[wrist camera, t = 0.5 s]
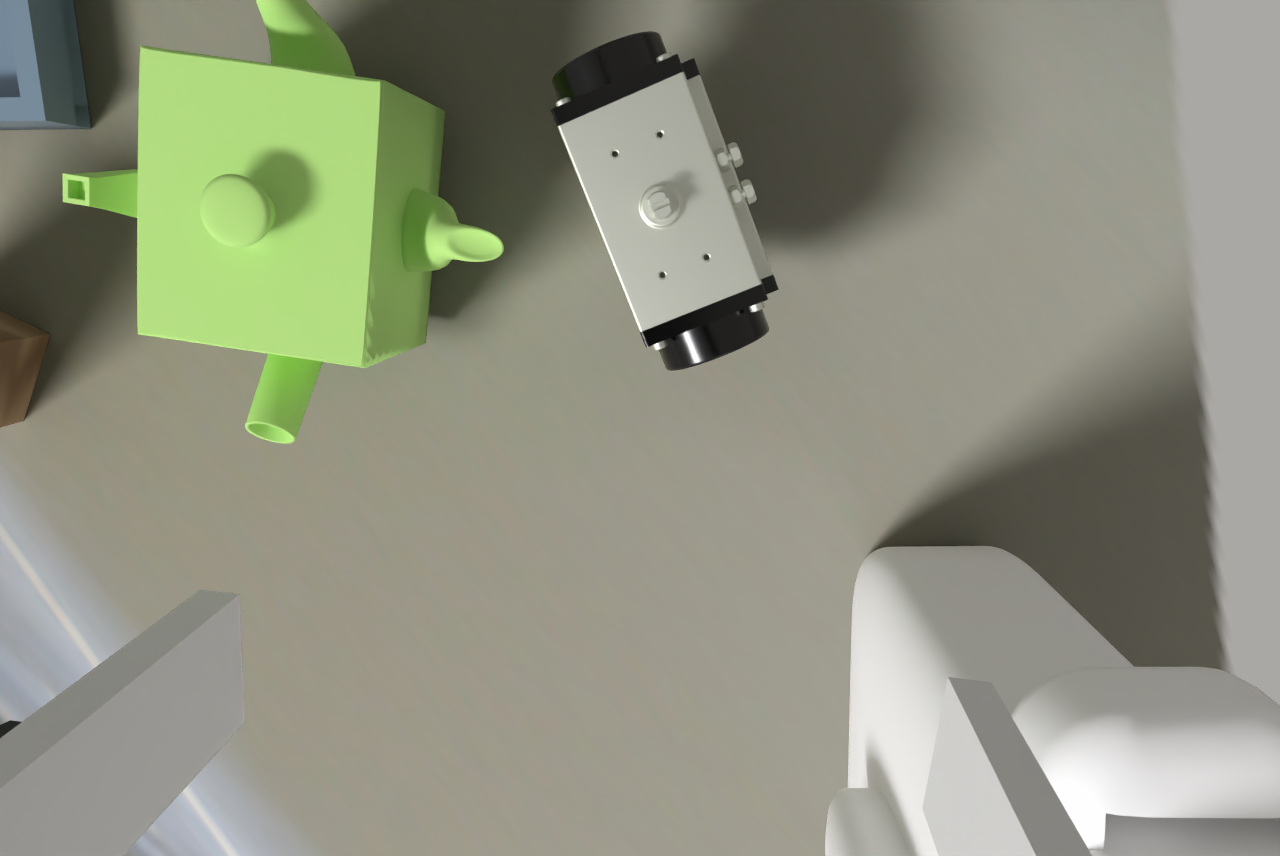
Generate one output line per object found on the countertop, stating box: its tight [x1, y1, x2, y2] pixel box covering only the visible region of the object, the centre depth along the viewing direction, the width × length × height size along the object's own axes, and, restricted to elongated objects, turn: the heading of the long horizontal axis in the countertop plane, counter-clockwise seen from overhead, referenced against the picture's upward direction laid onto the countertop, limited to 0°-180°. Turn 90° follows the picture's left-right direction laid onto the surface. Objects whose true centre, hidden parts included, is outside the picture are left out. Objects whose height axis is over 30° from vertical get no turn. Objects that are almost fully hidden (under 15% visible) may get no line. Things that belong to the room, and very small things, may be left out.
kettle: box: [63, 0, 504, 444], centre depth 36 cm, size 15×14×11 cm
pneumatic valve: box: [551, 31, 778, 371], centre depth 35 cm, size 6×12×12 cm, turn 22°
